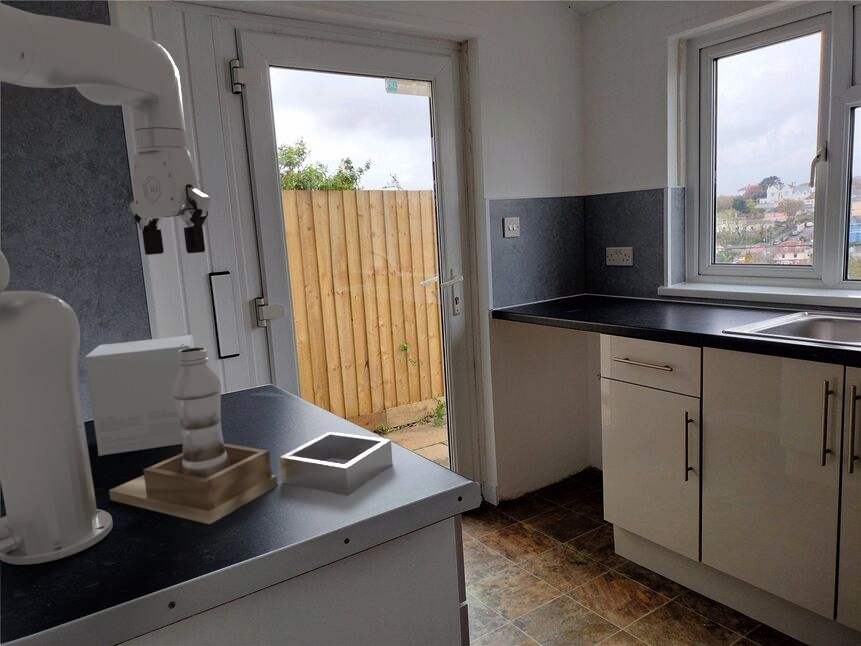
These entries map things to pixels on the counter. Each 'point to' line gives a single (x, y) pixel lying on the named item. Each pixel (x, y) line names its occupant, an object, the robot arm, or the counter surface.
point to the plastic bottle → (199, 415)
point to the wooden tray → (200, 486)
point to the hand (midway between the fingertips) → (174, 253)
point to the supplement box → (135, 393)
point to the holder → (315, 473)
